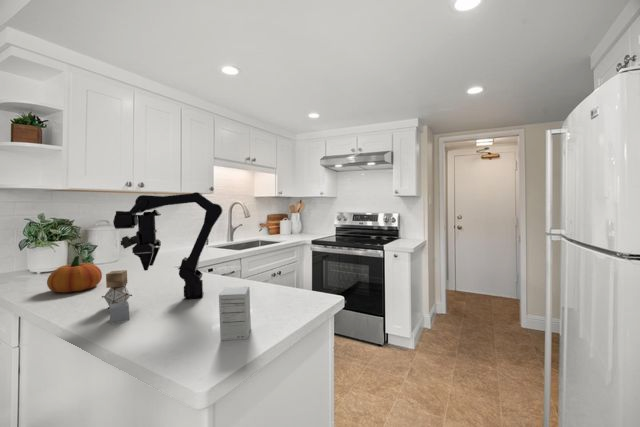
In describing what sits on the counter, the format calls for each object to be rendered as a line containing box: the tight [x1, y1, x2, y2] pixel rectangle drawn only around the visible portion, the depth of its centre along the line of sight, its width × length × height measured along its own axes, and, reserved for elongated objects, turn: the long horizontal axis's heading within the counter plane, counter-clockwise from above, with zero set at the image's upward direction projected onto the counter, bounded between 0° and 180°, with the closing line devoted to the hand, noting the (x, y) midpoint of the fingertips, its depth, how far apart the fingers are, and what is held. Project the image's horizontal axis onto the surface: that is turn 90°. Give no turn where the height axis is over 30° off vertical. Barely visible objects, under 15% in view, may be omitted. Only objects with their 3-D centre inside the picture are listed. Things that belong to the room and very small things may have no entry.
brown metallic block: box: [105, 269, 128, 289], centre depth 108 cm, size 5×5×5 cm
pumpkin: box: [46, 255, 103, 294], centre depth 133 cm, size 19×19×15 cm
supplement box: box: [218, 286, 252, 341], centre depth 83 cm, size 7×7×13 cm
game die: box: [101, 284, 133, 310], centre depth 108 cm, size 9×8×10 cm
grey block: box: [108, 301, 130, 325], centre depth 96 cm, size 5×5×5 cm
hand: (148, 267), depth 114 cm, fingers open, 9 cm apart
